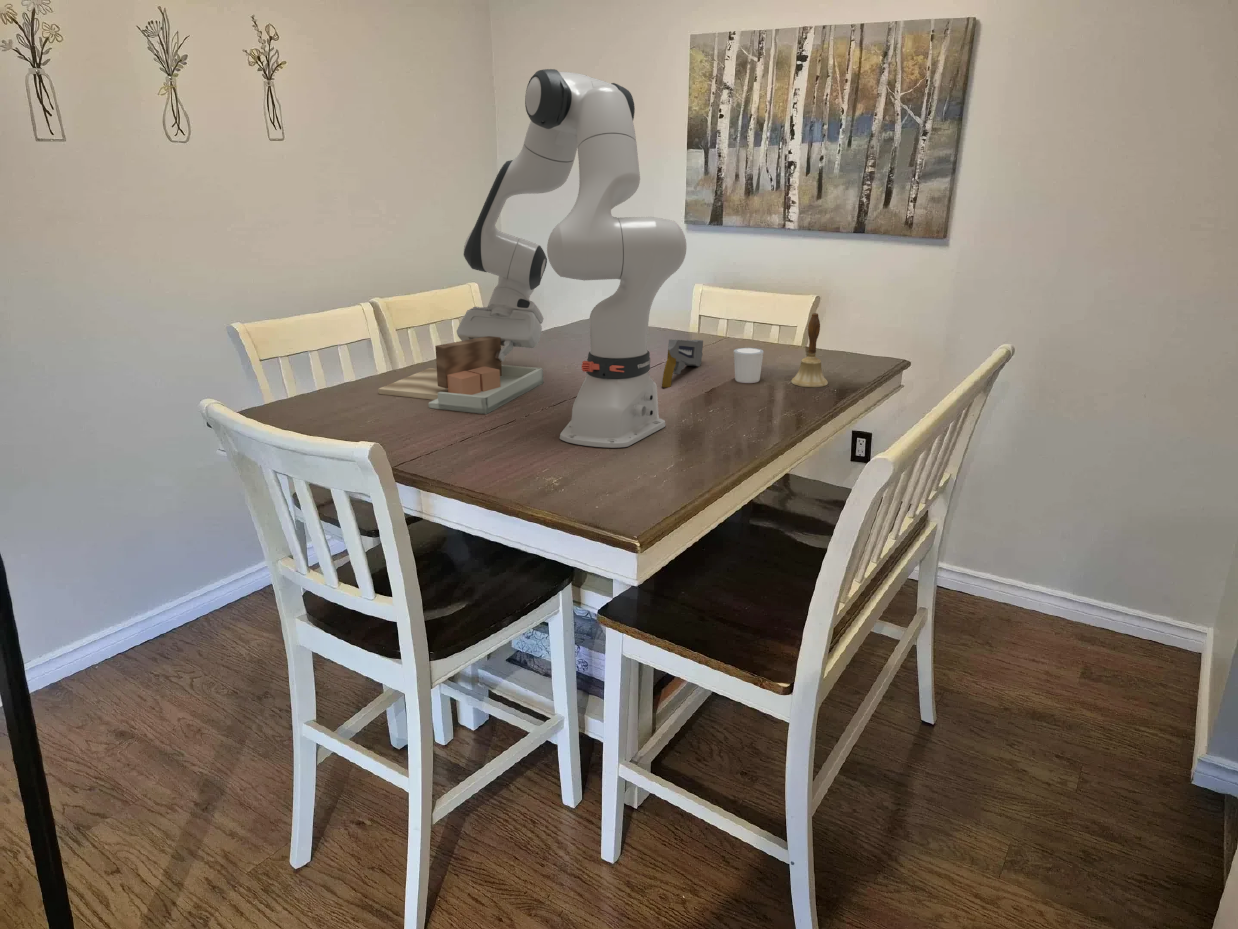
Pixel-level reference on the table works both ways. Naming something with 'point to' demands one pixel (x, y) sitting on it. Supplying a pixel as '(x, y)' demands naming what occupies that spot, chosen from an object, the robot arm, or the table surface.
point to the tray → (492, 392)
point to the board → (416, 386)
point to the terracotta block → (464, 383)
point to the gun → (681, 357)
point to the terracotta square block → (488, 377)
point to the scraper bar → (466, 357)
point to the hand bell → (811, 360)
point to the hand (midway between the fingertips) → (488, 358)
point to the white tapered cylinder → (748, 364)
